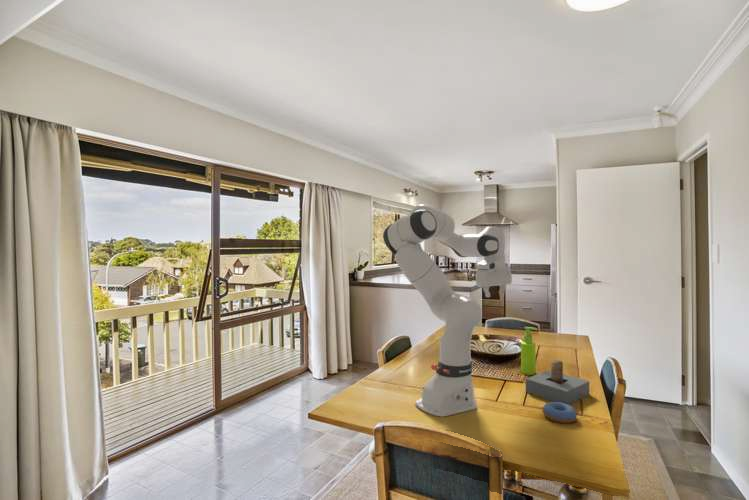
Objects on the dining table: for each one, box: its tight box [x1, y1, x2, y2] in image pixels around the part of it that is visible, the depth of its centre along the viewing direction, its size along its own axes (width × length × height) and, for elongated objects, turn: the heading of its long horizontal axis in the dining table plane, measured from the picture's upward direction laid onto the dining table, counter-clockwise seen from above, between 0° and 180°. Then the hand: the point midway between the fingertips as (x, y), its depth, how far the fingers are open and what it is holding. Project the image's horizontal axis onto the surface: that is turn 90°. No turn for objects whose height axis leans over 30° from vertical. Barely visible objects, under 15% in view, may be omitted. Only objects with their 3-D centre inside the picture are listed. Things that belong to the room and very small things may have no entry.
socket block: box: [525, 369, 590, 406], centre depth 145 cm, size 16×16×5 cm
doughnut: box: [542, 401, 578, 424], centre depth 125 cm, size 10×10×5 cm
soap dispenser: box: [520, 326, 539, 376], centre depth 167 cm, size 6×7×20 cm
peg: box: [550, 359, 564, 384], centre depth 145 cm, size 4×4×12 cm
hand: (494, 295), depth 166 cm, fingers open, 8 cm apart
